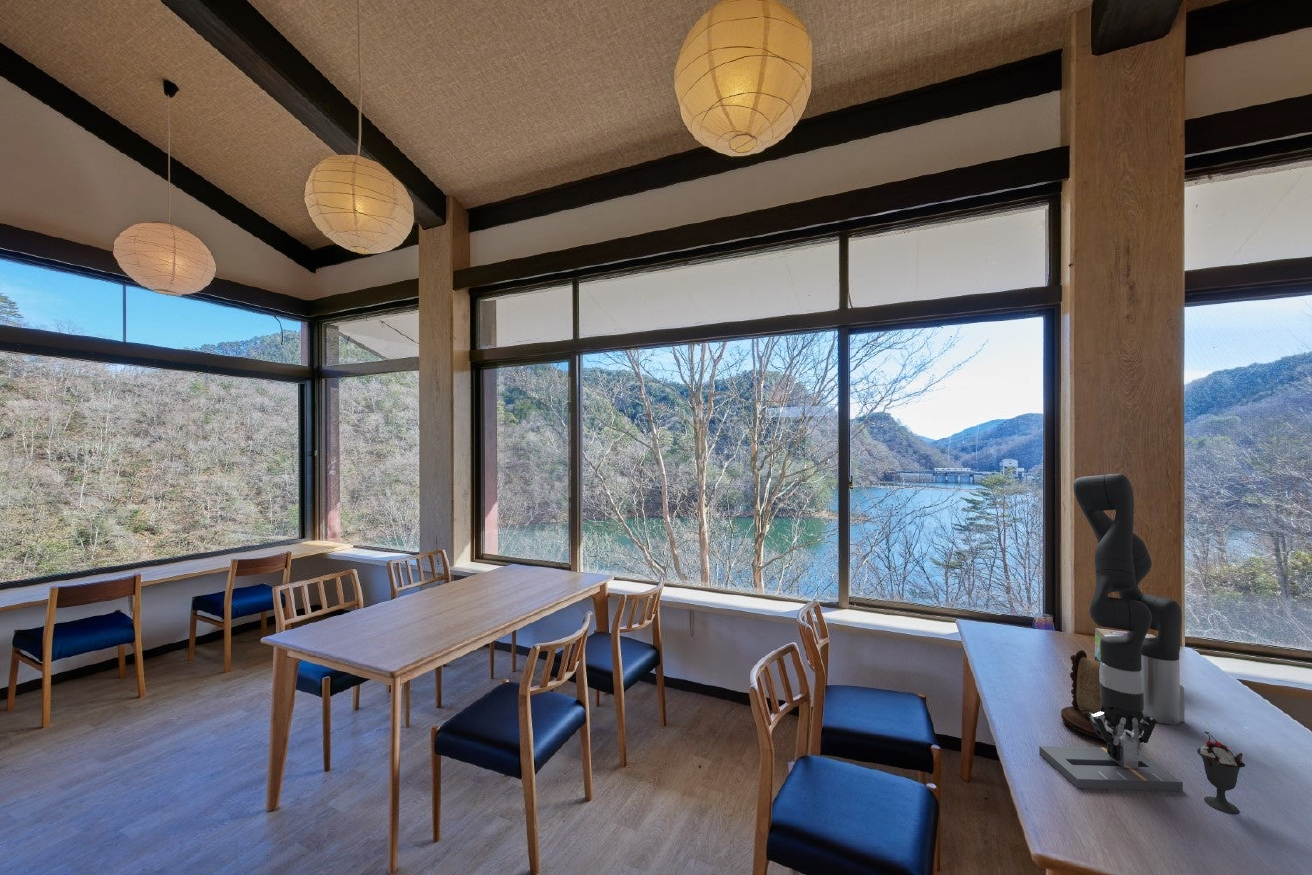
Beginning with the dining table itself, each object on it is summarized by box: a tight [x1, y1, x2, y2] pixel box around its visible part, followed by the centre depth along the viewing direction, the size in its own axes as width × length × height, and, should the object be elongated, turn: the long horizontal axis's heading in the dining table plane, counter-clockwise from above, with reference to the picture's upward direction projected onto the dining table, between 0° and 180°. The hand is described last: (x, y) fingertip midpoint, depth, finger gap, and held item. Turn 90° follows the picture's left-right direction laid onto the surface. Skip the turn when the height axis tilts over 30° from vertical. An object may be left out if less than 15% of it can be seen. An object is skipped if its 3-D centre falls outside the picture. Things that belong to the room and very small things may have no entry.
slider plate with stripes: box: [1038, 745, 1184, 792], centre depth 116 cm, size 22×12×2 cm, turn 86°
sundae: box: [1196, 731, 1246, 815], centre depth 105 cm, size 7×7×15 cm
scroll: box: [1060, 649, 1124, 740], centre depth 132 cm, size 15×15×20 cm
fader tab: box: [1108, 733, 1139, 769], centre depth 116 cm, size 3×4×8 cm
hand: (1122, 758), depth 116 cm, fingers closed on fader tab, 3 cm apart
